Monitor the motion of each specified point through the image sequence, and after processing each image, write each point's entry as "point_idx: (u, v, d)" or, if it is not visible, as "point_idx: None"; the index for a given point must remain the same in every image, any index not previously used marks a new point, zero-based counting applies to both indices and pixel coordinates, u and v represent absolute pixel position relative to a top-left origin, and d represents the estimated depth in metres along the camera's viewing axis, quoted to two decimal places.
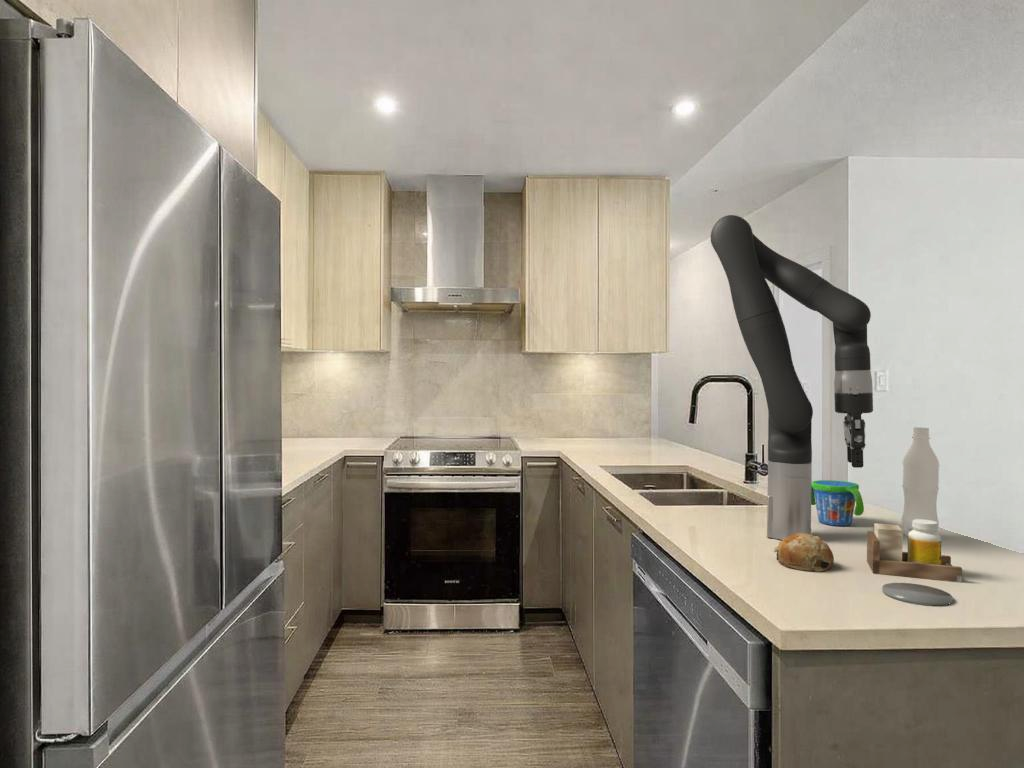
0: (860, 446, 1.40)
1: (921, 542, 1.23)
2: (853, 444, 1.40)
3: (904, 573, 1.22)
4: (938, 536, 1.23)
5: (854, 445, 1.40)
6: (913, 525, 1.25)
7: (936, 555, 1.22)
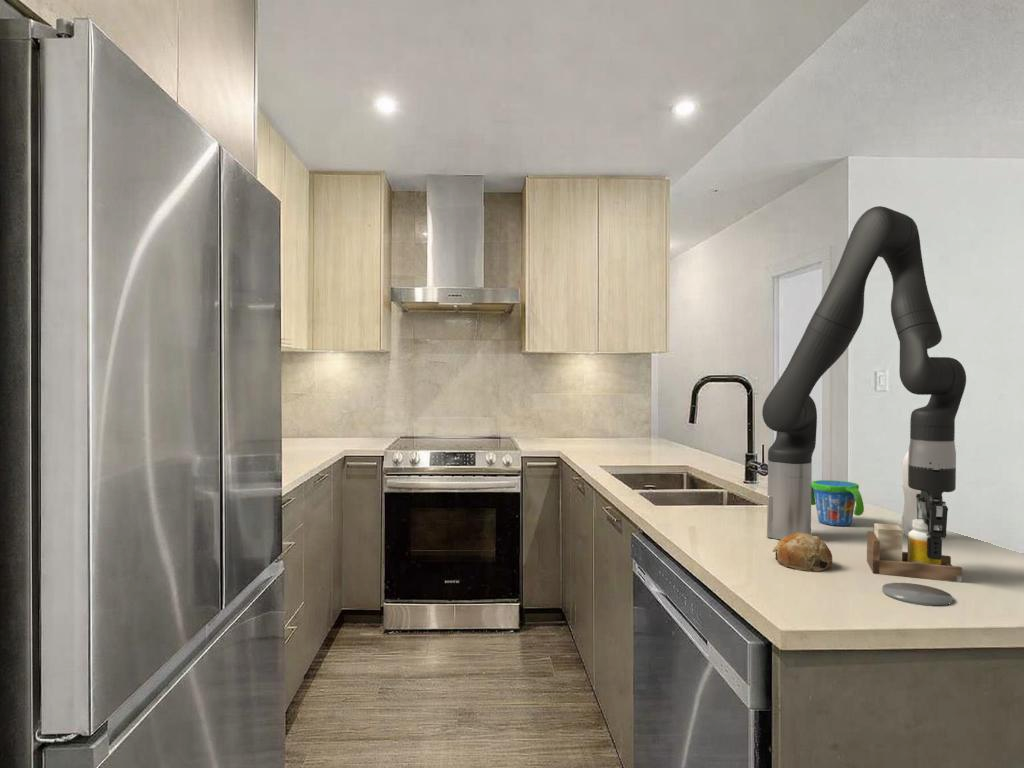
0: (940, 536, 1.19)
1: (922, 542, 1.23)
2: (932, 534, 1.19)
3: (904, 573, 1.22)
4: None
5: (933, 535, 1.19)
6: (913, 525, 1.25)
7: None
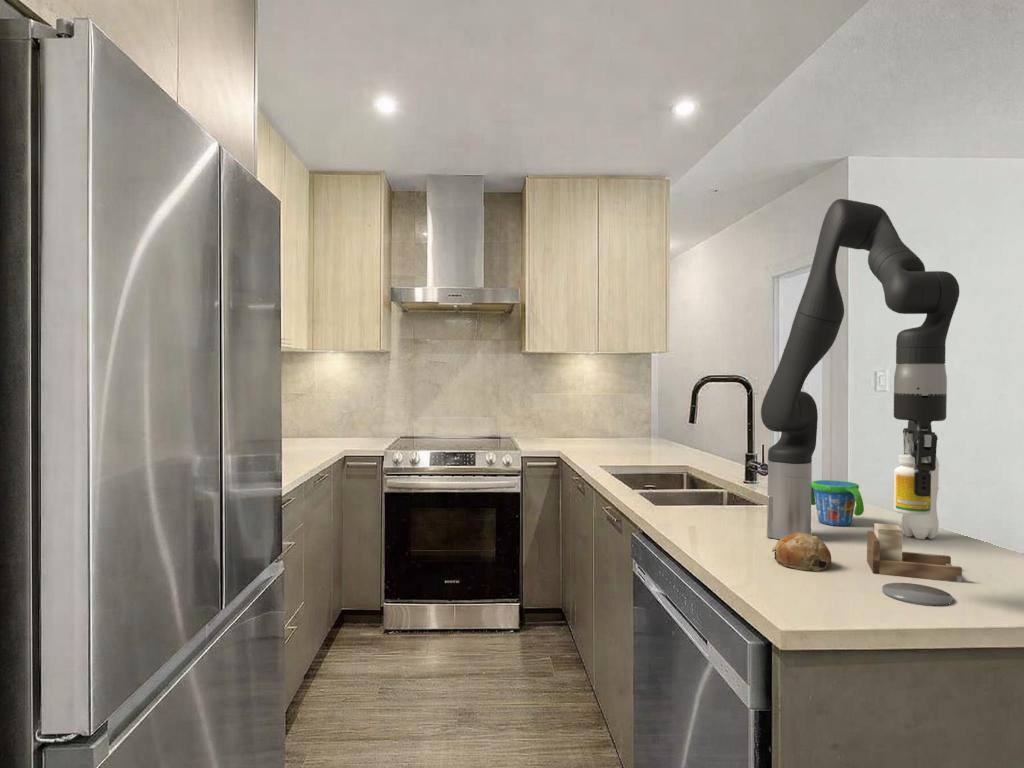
0: (929, 469, 1.06)
1: (909, 477, 1.09)
2: (919, 467, 1.06)
3: (904, 573, 1.22)
4: None
5: (920, 468, 1.06)
6: (900, 460, 1.12)
7: None
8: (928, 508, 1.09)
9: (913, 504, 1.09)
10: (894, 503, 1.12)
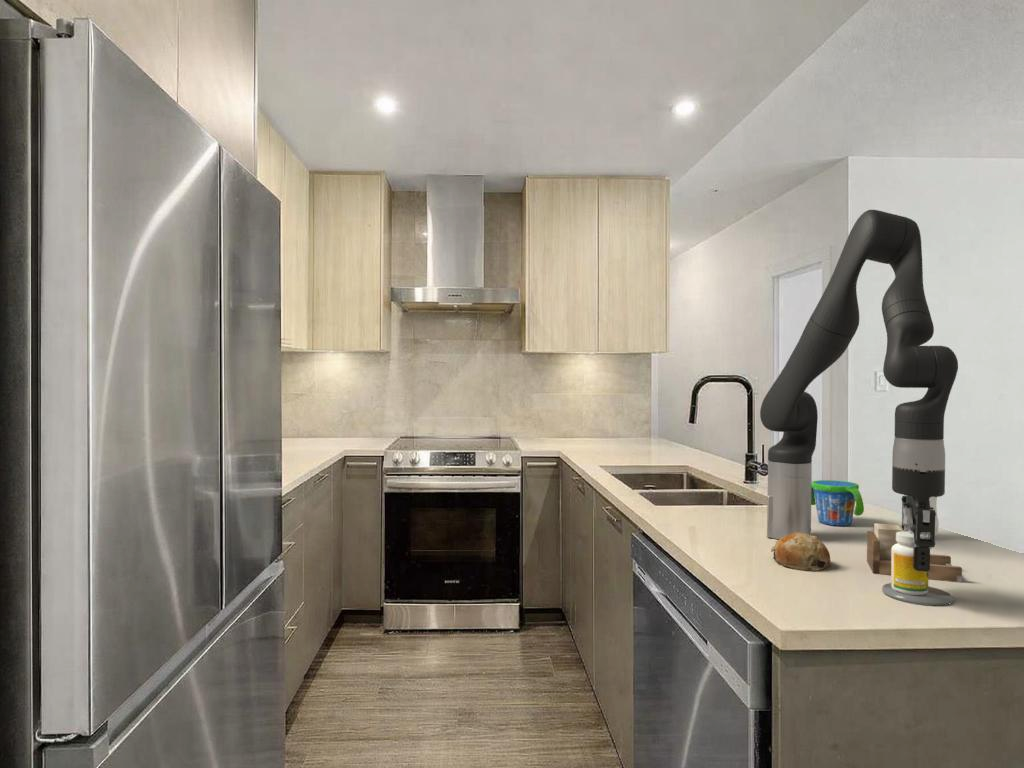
0: (928, 545, 1.05)
1: (906, 557, 1.10)
2: (918, 542, 1.06)
3: None
4: None
5: (920, 544, 1.06)
6: (897, 538, 1.12)
7: (922, 572, 1.09)
8: (926, 588, 1.09)
9: (911, 584, 1.09)
10: (892, 581, 1.12)
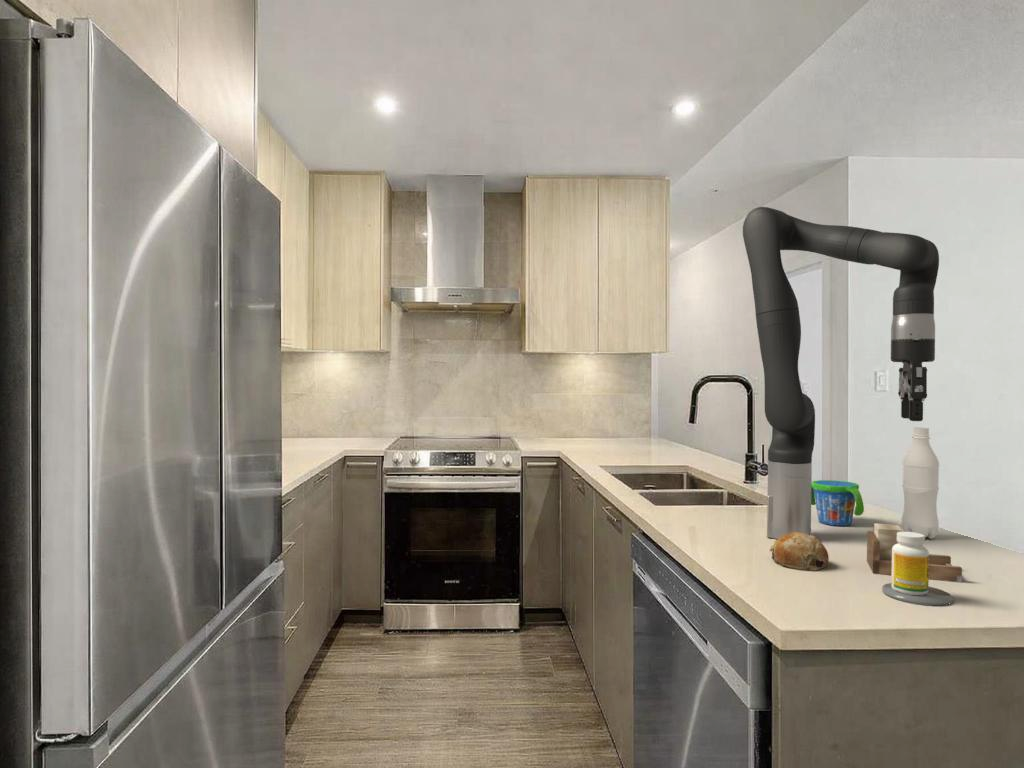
0: (921, 396, 1.26)
1: (907, 557, 1.10)
2: (913, 394, 1.26)
3: None
4: (925, 551, 1.10)
5: (914, 395, 1.26)
6: (898, 538, 1.12)
7: (923, 572, 1.09)
8: (926, 588, 1.10)
9: (911, 585, 1.09)
10: (892, 581, 1.12)
